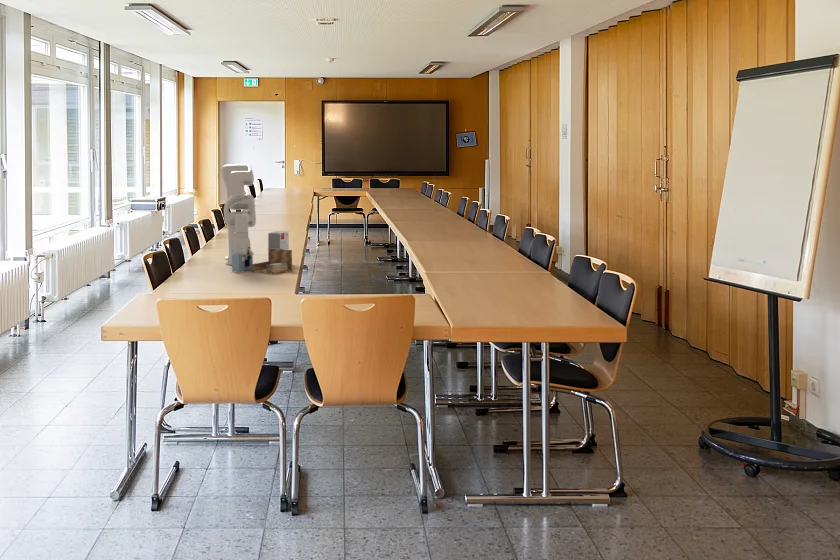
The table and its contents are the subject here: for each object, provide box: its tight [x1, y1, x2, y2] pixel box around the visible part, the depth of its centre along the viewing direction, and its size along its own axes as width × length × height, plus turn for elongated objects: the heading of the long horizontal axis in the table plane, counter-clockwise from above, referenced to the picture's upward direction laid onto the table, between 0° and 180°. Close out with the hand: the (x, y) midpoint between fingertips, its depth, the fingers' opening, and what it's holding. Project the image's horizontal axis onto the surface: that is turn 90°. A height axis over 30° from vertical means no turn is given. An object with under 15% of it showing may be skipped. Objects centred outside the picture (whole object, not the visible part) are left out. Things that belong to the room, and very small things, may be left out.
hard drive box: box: [267, 230, 290, 261], centre depth 526 cm, size 16×8×20 cm, turn 168°
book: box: [231, 254, 254, 273], centre depth 505 cm, size 5×12×10 cm, turn 150°
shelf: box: [251, 248, 293, 275], centre depth 502 cm, size 16×16×12 cm
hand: (242, 265), depth 505 cm, fingers open, 6 cm apart
